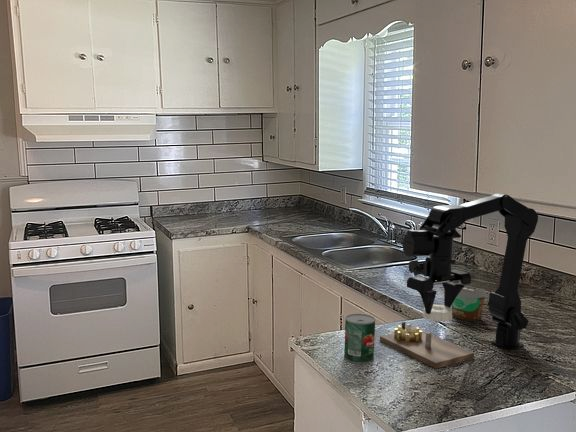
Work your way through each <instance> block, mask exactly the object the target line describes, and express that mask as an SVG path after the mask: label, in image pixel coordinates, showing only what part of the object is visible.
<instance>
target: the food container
mask: <svg viewBox="0 0 576 432" xmlns="http://www.w3.org/2000/svg"><path fill="white" fill-rule="evenodd" d="M487 296H488V294H487V290H486V289H483V290H476V289H474V288H471V287H464V288H462V290H461V291H460V293H459V294H458V295H457V297H456V298H455V300H454V302H453V303H452V305H451V308H452V315H453V316H454V318H455V319H457V318H458V319H457V320H460V319H461V320H460V321H467V322H468V321H469V322H474V321H480V320H481V319H482V316H483V309H484V304H485V298H487ZM453 316H452V317H453Z"/></svg>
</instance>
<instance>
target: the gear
mask: <svg viewBox="0 0 576 432" xmlns="http://www.w3.org/2000/svg"><path fill="white" fill-rule="evenodd" d="M419 329H420V328H419V327H418V326H417V327H414V326H413V325H412V324H411V323H406V321H401V325H398V326H397V327H394V331H393V333H394V337H397V340H402V341H405V342H414V341H415V342H418V341H419V339H422V331H423V330H422V331H419Z"/></svg>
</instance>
